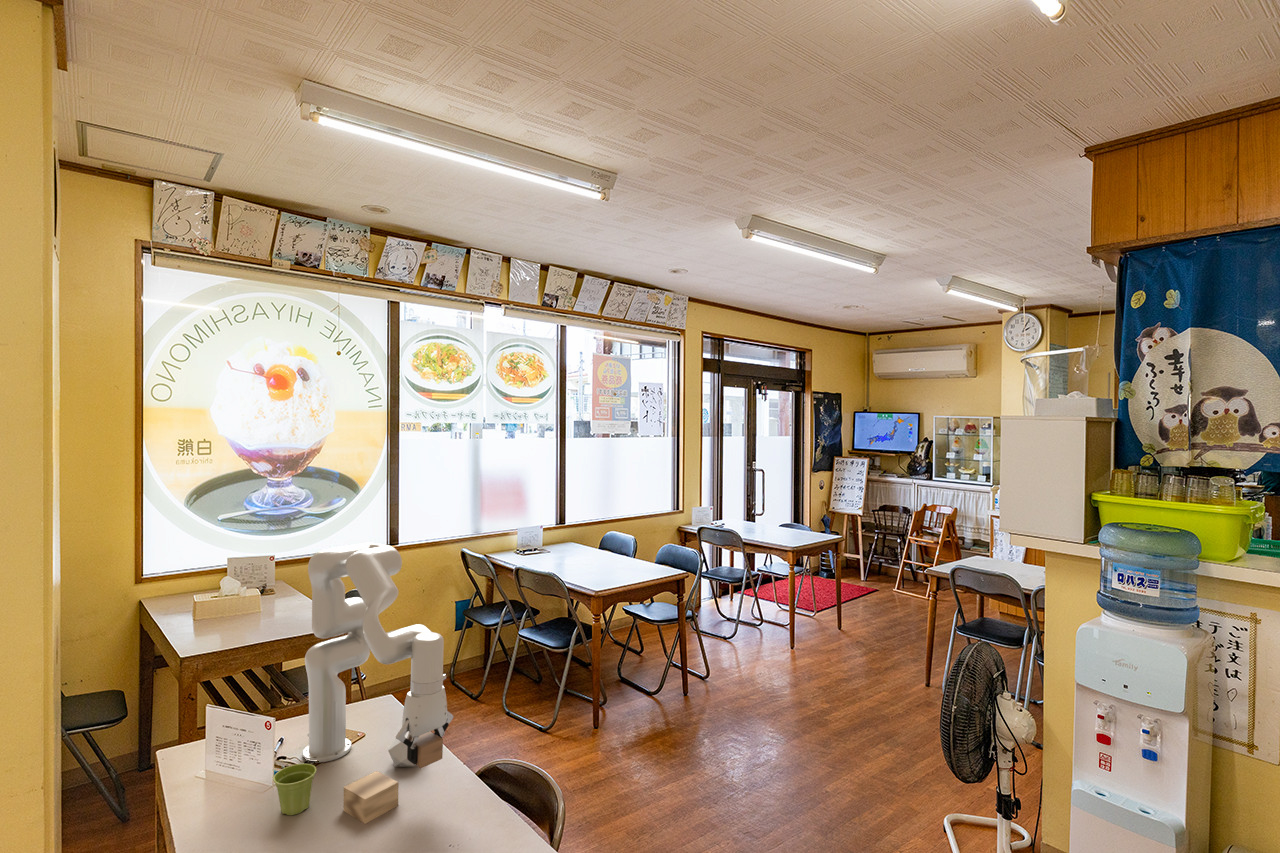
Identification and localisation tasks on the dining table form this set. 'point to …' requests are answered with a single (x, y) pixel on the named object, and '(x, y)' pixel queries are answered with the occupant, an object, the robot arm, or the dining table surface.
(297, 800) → the plant pot
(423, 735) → the walnut block
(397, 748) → the die
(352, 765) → the dining table surface
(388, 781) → the oak base
